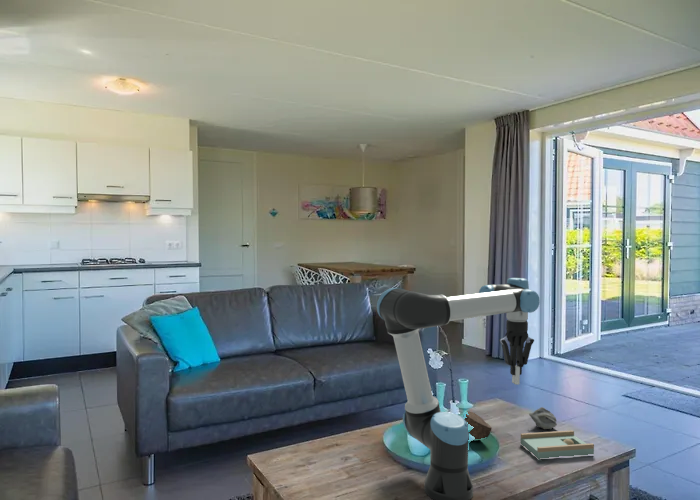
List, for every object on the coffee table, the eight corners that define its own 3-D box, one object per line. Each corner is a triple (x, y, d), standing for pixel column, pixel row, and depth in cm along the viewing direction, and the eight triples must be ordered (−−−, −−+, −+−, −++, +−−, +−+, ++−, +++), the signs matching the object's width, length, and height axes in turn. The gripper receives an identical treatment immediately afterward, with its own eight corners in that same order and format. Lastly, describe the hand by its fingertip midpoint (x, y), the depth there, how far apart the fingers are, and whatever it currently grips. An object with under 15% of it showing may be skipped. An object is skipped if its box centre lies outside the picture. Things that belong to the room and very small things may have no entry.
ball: (567, 452, 186) (566, 442, 186) (561, 448, 190) (560, 438, 190) (577, 450, 186) (575, 440, 186) (570, 446, 190) (569, 436, 190)
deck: (538, 460, 179) (538, 448, 179) (520, 445, 192) (520, 433, 191) (593, 456, 182) (594, 444, 182) (572, 441, 195) (572, 430, 195)
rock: (497, 431, 193) (484, 421, 188) (482, 452, 192) (468, 443, 187) (476, 413, 204) (463, 404, 198) (461, 434, 203) (448, 425, 198)
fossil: (537, 433, 203) (537, 413, 203) (524, 424, 212) (525, 406, 212) (561, 431, 206) (561, 412, 205) (548, 422, 214) (548, 404, 214)
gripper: (505, 322, 178) (504, 387, 178) (539, 321, 180) (537, 385, 181) (495, 318, 185) (494, 381, 186) (528, 317, 187) (526, 379, 188)
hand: (515, 383), depth 183 cm, fingers closed
